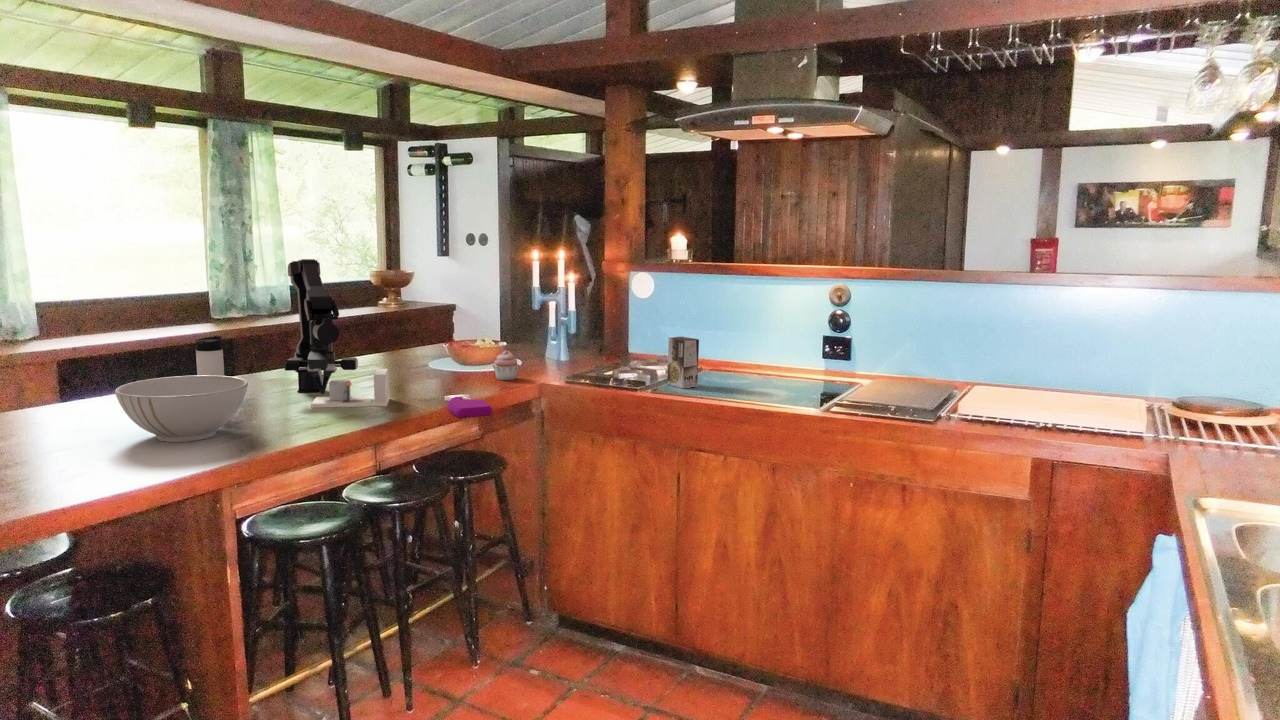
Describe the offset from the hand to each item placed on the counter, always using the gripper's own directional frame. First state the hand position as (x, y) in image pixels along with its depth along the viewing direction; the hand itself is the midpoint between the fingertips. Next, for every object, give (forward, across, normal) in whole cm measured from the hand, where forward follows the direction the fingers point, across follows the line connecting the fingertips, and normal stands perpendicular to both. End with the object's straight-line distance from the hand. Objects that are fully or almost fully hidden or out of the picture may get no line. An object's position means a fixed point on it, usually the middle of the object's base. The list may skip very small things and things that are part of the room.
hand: (322, 393), depth 225 cm
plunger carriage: (+1, +5, -2) cm, 5 cm away
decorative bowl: (+3, -25, -35) cm, 43 cm away
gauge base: (+2, +9, -1) cm, 9 cm away
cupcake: (+3, +53, +33) cm, 63 cm away
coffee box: (+2, +111, +16) cm, 112 cm away
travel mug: (+3, -26, -9) cm, 28 cm away
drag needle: (+1, +7, -4) cm, 8 cm away
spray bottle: (+3, +39, -11) cm, 41 cm away
